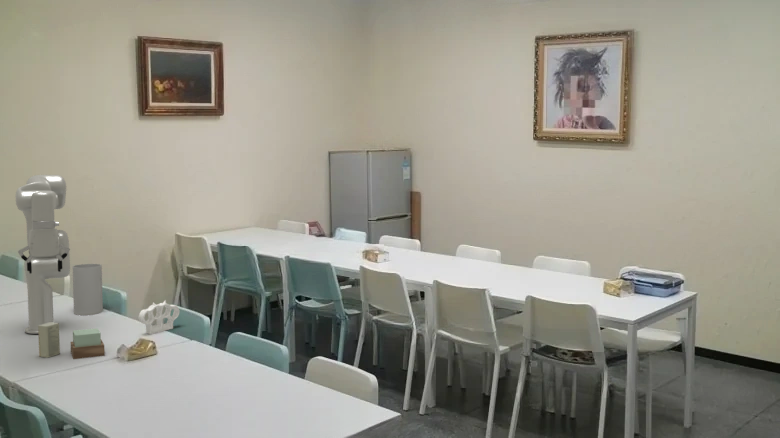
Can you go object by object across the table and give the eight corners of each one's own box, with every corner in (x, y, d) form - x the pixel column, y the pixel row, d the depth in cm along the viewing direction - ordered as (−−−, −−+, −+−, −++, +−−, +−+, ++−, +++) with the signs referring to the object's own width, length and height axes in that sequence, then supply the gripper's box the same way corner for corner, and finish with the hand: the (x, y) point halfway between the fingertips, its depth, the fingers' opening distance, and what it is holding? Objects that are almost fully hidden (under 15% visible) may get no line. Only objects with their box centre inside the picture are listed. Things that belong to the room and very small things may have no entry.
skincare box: (51, 352, 291) (50, 321, 290) (60, 354, 289) (59, 322, 288) (38, 356, 285) (37, 325, 284) (47, 358, 283) (46, 326, 282)
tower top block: (73, 342, 291) (72, 330, 290) (98, 339, 295) (97, 328, 294) (75, 347, 283) (74, 335, 282) (100, 344, 287) (100, 333, 287)
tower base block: (70, 353, 292) (70, 341, 291) (101, 350, 297) (100, 338, 296) (73, 359, 282) (73, 348, 282) (104, 356, 287) (104, 344, 287)
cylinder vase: (97, 315, 360) (96, 263, 358) (107, 319, 350) (105, 266, 348) (70, 318, 352) (68, 265, 350) (79, 323, 342) (77, 268, 340)
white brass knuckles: (180, 331, 327) (179, 298, 326) (143, 339, 313) (143, 304, 311) (175, 330, 329) (174, 297, 328) (139, 338, 315) (138, 303, 314)
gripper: (68, 224, 283) (69, 269, 285) (16, 225, 275) (18, 272, 277) (69, 225, 277) (71, 272, 278) (17, 227, 269) (19, 275, 270)
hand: (45, 272), depth 278 cm, fingers open, 9 cm apart
